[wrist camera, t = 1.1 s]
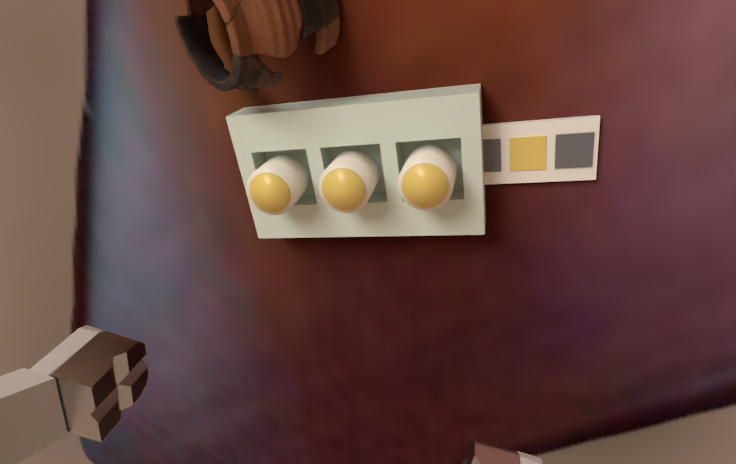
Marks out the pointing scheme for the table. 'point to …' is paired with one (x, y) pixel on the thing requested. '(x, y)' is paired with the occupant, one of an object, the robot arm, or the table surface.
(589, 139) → the card
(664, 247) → the table surface
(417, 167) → the button
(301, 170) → the button
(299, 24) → the pottery mug
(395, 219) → the button board
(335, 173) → the button
